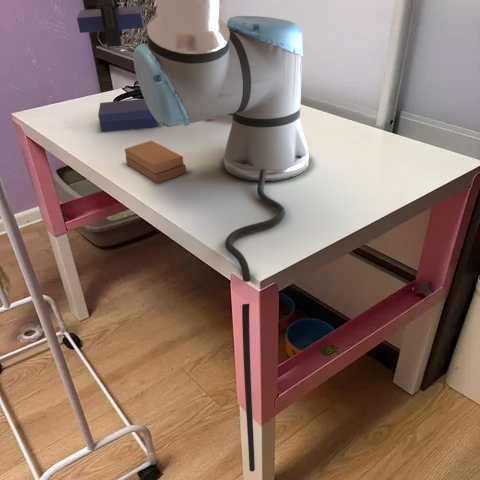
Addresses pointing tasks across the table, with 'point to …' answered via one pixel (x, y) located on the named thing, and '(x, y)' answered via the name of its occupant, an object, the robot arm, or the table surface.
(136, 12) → the navy book
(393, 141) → the table surface
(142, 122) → the navy pile
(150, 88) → the robot arm
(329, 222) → the table surface
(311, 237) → the table surface
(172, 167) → the brown pile
